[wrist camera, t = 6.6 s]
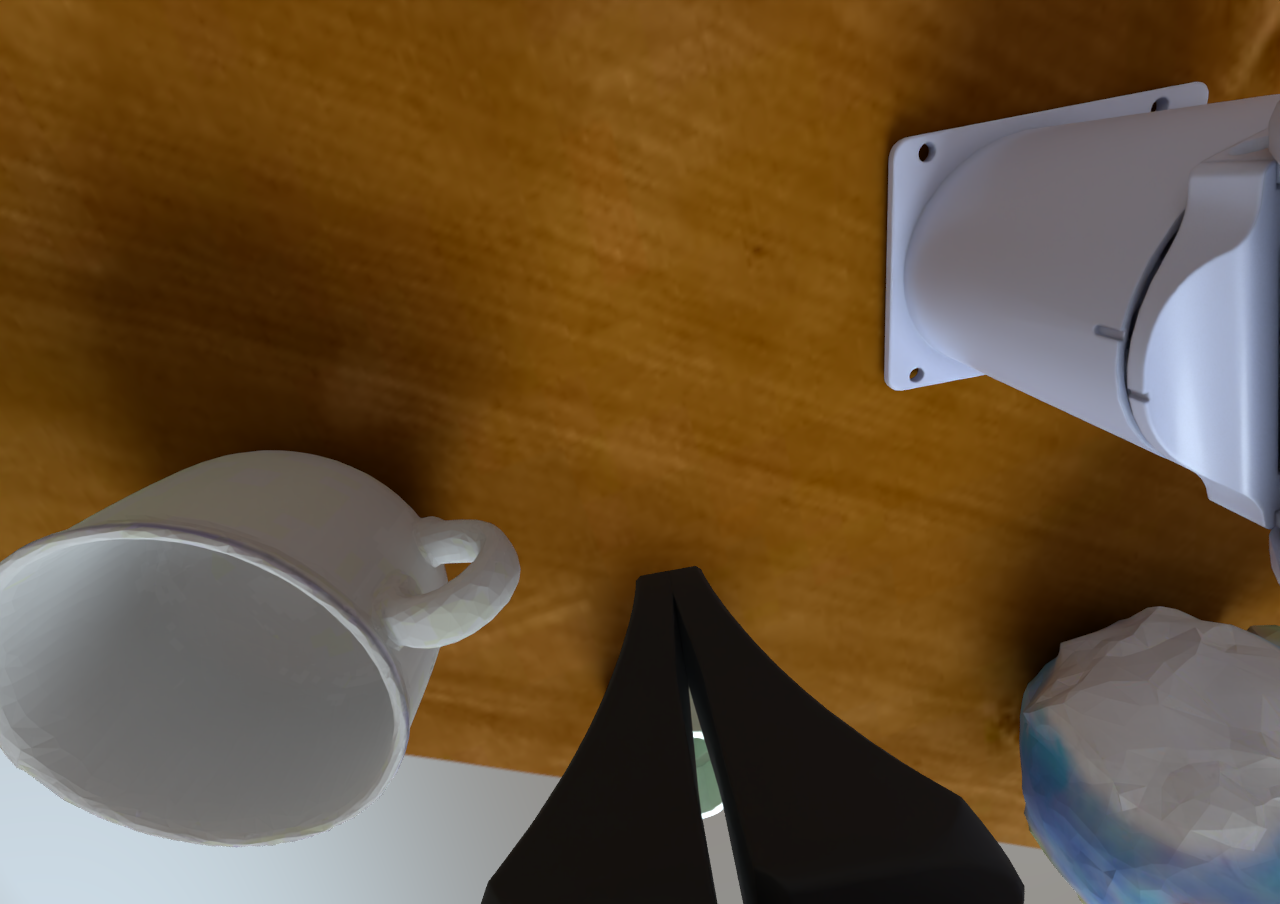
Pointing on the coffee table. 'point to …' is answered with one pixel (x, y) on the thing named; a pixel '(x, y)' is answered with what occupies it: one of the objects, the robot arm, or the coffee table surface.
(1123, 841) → the decorative rock
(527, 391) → the coffee table surface
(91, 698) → the teacup
